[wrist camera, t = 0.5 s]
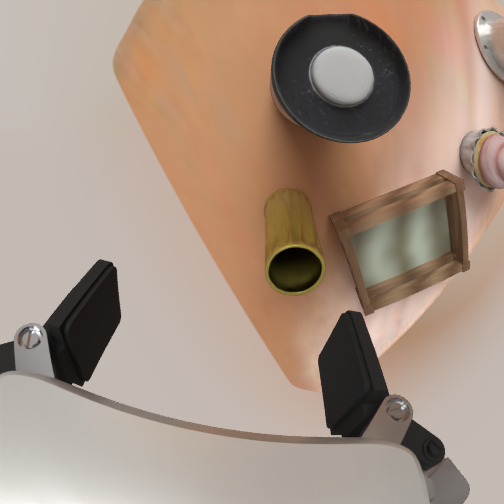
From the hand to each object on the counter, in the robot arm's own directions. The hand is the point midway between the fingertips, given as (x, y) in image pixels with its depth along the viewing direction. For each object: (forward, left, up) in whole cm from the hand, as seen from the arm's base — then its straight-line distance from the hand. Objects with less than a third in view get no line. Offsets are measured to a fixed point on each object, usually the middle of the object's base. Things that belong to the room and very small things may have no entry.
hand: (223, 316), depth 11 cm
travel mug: (-9, -6, -26) cm, 28 cm away
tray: (-15, +17, -26) cm, 34 cm away
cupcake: (-31, +9, -26) cm, 42 cm away
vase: (-1, +7, -26) cm, 27 cm away
